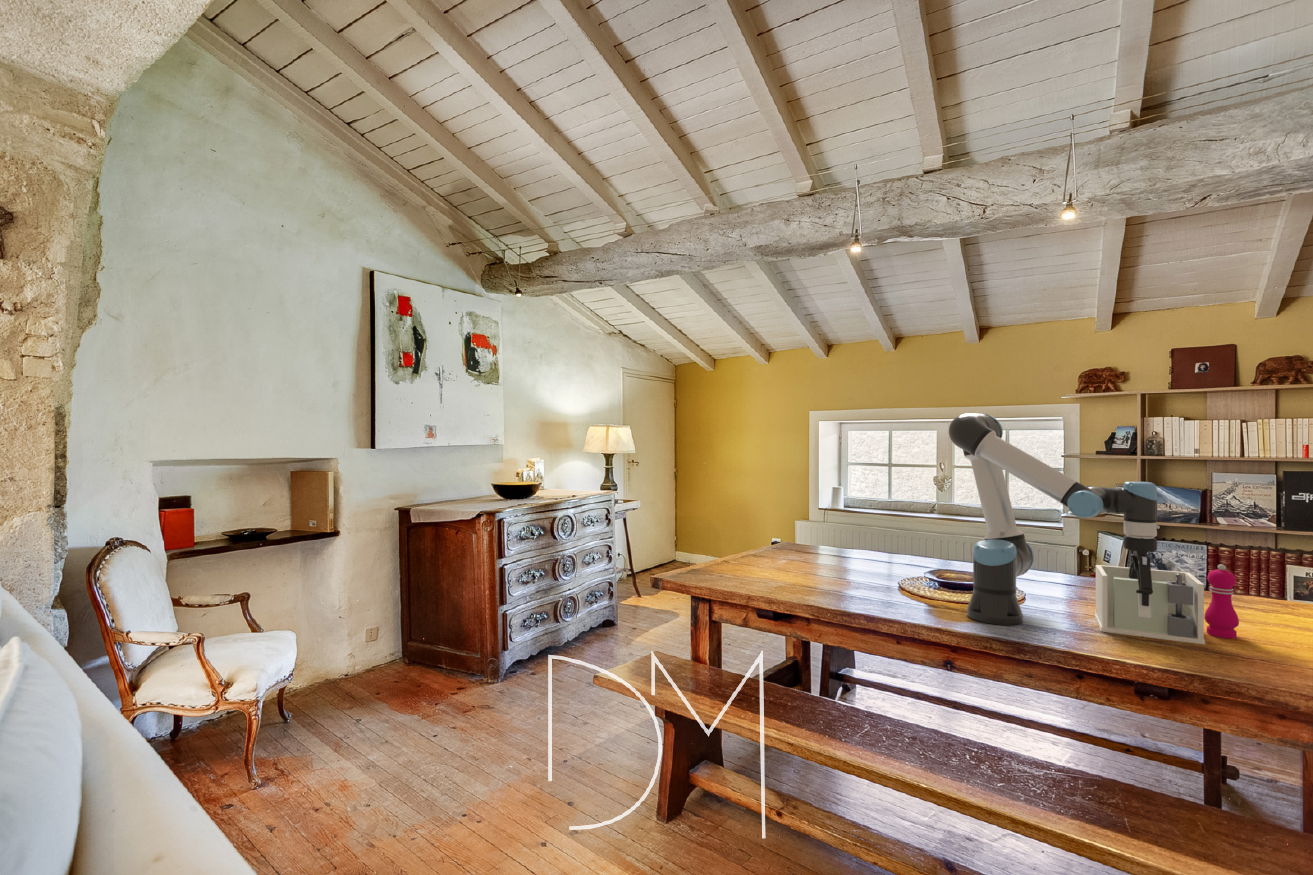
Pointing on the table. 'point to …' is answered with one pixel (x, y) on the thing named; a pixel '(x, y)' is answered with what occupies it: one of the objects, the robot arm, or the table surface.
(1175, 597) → the door
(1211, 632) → the pepper mill
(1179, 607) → the hinge pin
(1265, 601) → the table surface
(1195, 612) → the carcass
